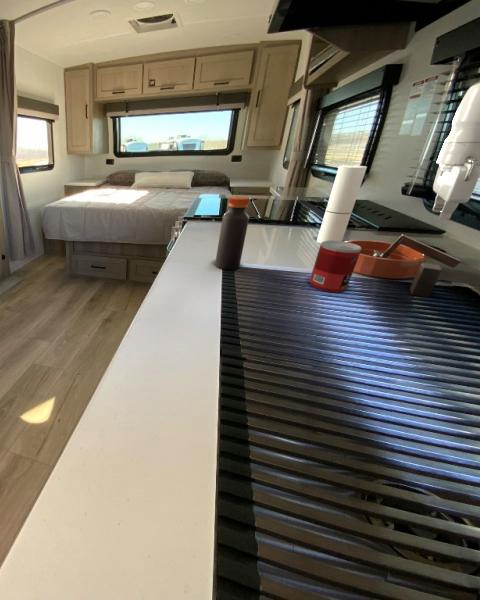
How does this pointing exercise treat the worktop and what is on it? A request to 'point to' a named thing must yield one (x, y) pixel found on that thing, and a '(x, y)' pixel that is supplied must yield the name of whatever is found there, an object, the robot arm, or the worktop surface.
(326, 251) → the canned food
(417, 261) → the bowl
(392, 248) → the brown bent bar
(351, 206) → the cylindrical container
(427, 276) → the dark brown upright post
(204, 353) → the worktop surface
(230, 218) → the bottle
